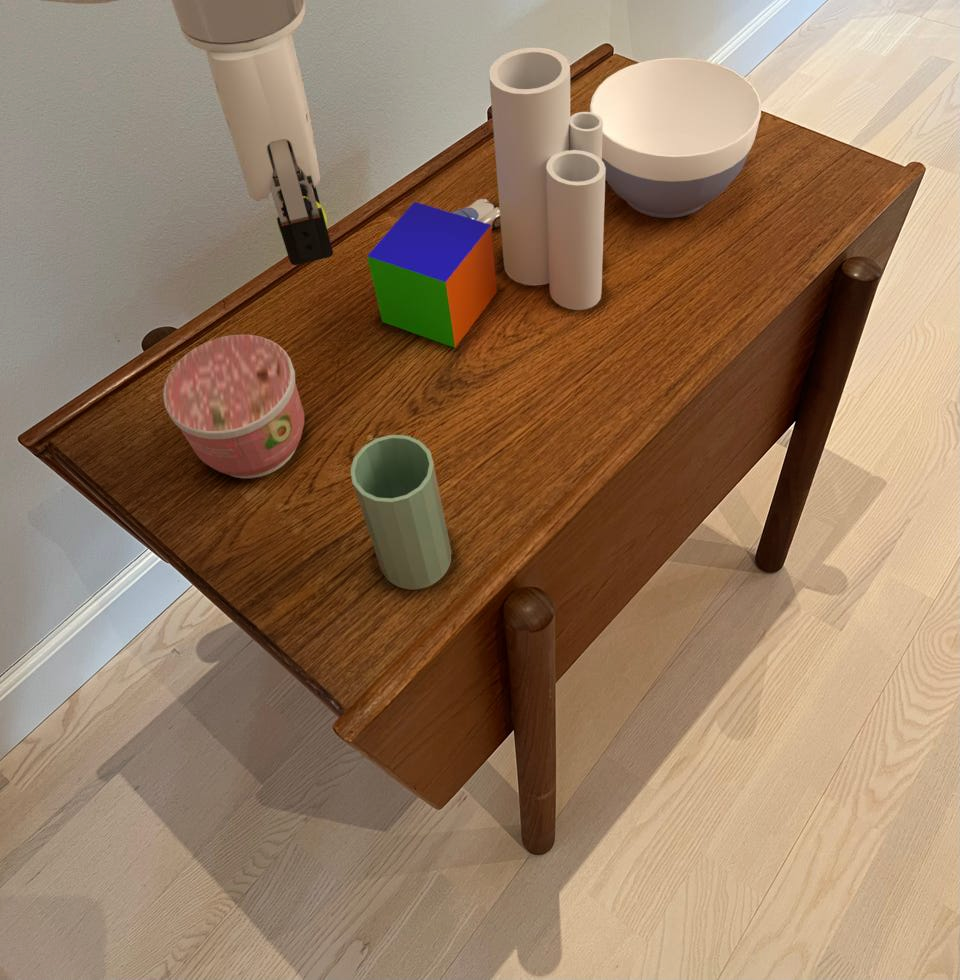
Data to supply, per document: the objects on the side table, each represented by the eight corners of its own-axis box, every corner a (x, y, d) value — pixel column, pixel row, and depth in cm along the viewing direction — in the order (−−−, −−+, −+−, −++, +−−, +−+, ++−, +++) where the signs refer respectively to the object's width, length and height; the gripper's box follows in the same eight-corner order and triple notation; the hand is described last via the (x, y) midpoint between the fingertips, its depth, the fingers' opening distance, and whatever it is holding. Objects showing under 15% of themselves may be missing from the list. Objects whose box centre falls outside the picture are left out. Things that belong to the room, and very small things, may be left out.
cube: (425, 268, 93) (414, 201, 86) (496, 292, 90) (491, 224, 83) (382, 321, 89) (367, 256, 82) (455, 347, 86) (445, 282, 80)
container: (198, 505, 78) (165, 446, 72) (191, 411, 84) (159, 349, 78) (323, 475, 79) (300, 414, 72) (307, 385, 85) (285, 321, 78)
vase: (489, 268, 92) (471, 78, 75) (535, 228, 95) (527, 36, 78) (582, 317, 87) (585, 125, 71) (628, 273, 90) (640, 79, 74)
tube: (387, 597, 72) (358, 510, 62) (374, 538, 75) (344, 446, 65) (458, 579, 72) (441, 489, 62) (442, 520, 75) (423, 426, 66)
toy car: (532, 209, 96) (531, 188, 94) (437, 262, 93) (434, 242, 91) (511, 193, 98) (509, 171, 96) (416, 244, 95) (413, 223, 93)
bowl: (647, 124, 103) (653, 40, 95) (776, 176, 96) (794, 90, 88) (556, 201, 97) (555, 118, 89) (688, 263, 90) (699, 179, 82)
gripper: (164, -55, 60) (245, 186, 75) (186, 83, 50) (273, 327, 65) (280, -79, 61) (337, 165, 76) (322, 53, 51) (378, 302, 66)
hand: (307, 238), depth 70 cm, fingers closed on ball, 3 cm apart
